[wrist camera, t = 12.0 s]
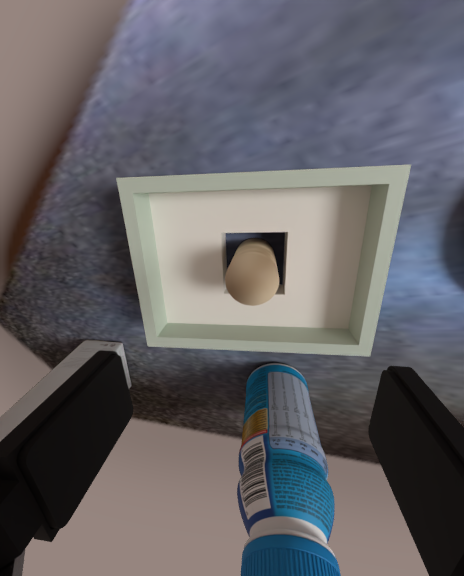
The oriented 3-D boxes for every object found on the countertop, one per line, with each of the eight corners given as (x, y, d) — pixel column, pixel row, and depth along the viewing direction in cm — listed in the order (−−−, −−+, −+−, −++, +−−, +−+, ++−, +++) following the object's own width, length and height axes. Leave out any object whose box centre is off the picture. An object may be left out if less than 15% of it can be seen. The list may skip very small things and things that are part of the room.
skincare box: (86, 338, 34) (-35, 436, 20) (126, 341, 33) (30, 444, 19) (98, 384, 37) (0, 497, 23) (134, 388, 36) (57, 506, 22)
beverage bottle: (305, 357, 31) (371, 604, 12) (309, 407, 34) (367, 667, 15) (241, 361, 32) (212, 588, 14) (250, 409, 35) (236, 648, 16)
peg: (282, 257, 26) (290, 281, 19) (254, 283, 28) (251, 315, 20) (254, 229, 26) (251, 242, 18) (227, 257, 27) (214, 280, 20)
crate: (348, 324, 28) (370, 356, 23) (168, 319, 31) (147, 346, 25) (374, 172, 22) (410, 164, 17) (148, 181, 25) (116, 177, 20)
